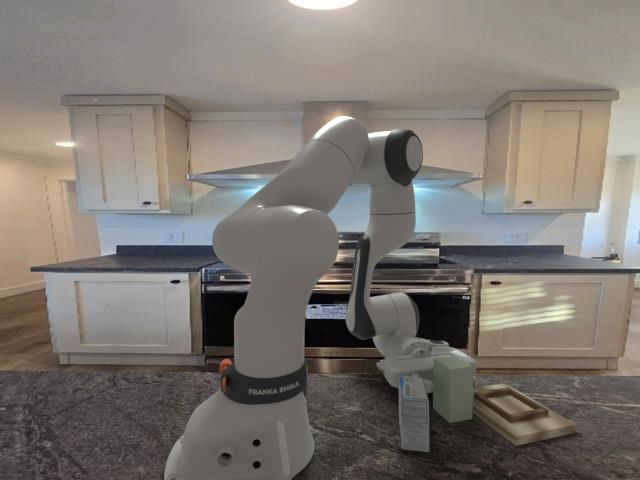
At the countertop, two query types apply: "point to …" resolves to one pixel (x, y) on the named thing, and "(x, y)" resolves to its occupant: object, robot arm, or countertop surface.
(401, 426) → the medicine box
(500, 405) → the birch board
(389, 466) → the countertop surface
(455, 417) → the sage block
